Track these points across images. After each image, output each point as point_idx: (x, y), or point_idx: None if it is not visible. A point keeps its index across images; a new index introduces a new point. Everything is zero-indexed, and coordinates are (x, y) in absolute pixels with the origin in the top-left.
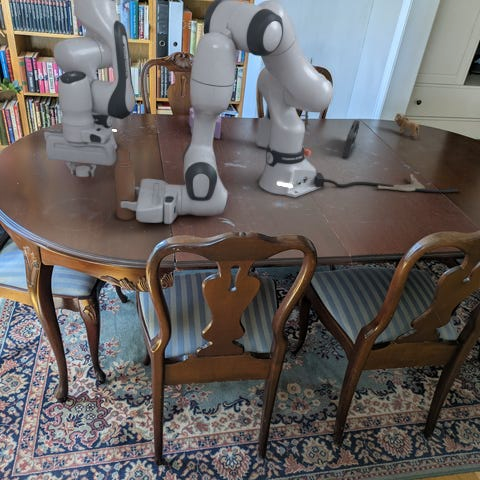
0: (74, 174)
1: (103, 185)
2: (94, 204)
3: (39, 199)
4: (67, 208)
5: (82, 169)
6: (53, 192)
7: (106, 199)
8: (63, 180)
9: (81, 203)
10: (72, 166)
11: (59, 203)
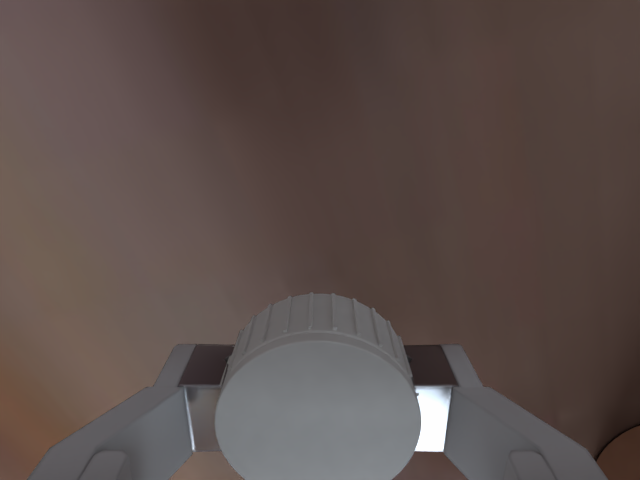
0: None
1: (430, 92)
2: None
3: (62, 416)
4: None
5: (326, 464)
6: (86, 314)
7: (502, 322)
8: (24, 85)
9: None
10: (159, 450)
11: None
